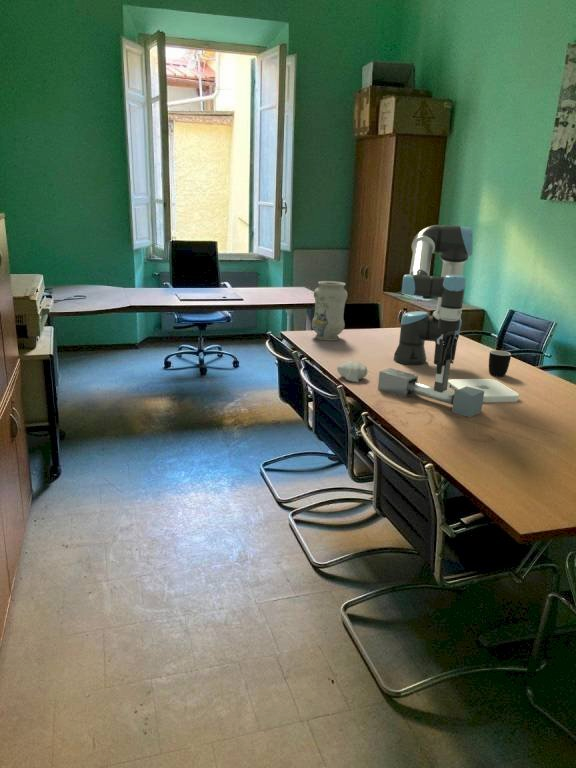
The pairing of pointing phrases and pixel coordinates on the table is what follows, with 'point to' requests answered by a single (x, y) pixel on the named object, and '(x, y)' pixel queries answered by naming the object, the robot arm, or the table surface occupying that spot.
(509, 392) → the computer
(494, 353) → the mug
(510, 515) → the table surface
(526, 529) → the table surface
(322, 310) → the vase
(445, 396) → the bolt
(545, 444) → the table surface
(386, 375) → the sleeve
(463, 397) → the grey block
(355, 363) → the shell shaped sculpture
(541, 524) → the table surface
